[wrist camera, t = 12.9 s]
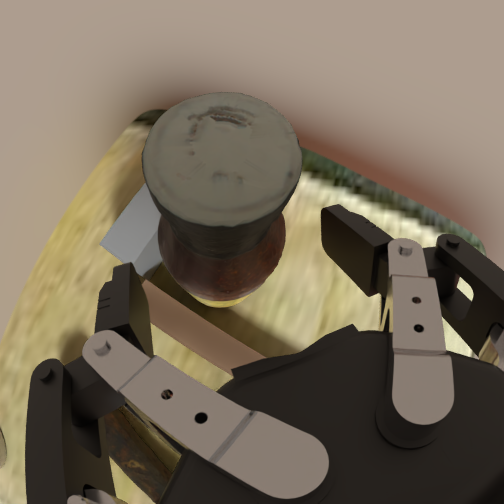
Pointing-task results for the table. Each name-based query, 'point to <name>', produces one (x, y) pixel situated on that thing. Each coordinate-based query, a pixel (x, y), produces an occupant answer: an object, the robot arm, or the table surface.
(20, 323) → the table surface
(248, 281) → the sauce bottle
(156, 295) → the walnut straightedge
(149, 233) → the end stop
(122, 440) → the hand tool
